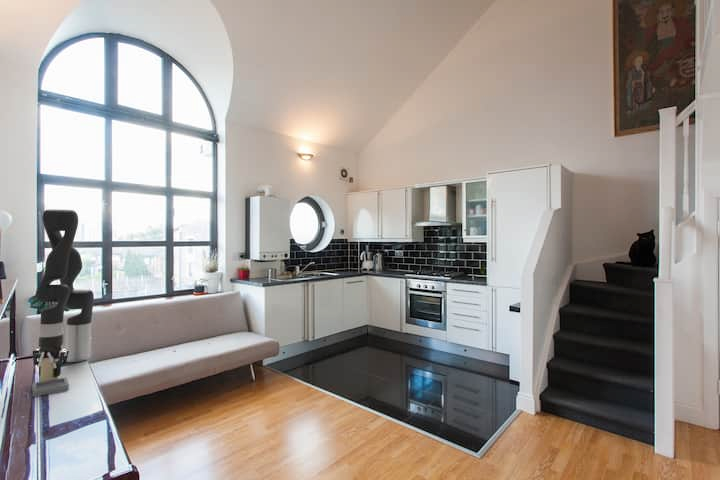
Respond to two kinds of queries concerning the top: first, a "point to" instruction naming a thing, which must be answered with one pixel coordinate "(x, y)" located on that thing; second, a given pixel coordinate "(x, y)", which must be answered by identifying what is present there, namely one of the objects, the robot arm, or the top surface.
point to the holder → (50, 386)
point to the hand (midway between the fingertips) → (49, 376)
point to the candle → (47, 370)
